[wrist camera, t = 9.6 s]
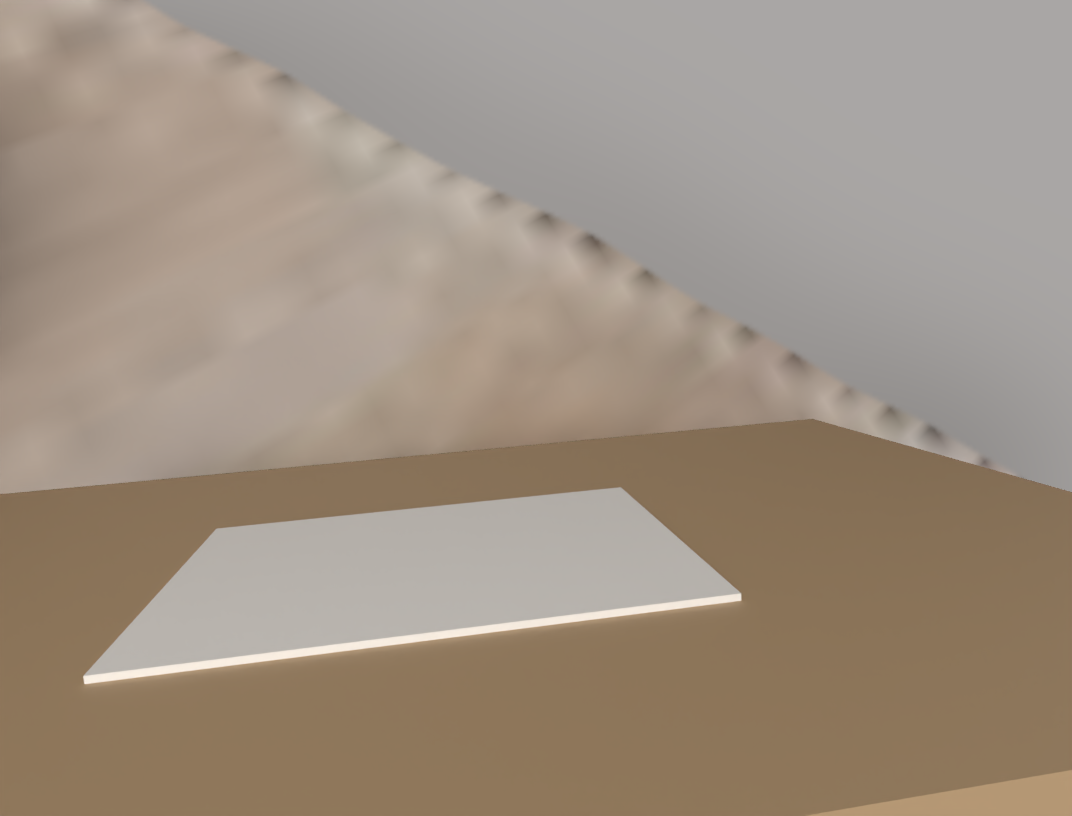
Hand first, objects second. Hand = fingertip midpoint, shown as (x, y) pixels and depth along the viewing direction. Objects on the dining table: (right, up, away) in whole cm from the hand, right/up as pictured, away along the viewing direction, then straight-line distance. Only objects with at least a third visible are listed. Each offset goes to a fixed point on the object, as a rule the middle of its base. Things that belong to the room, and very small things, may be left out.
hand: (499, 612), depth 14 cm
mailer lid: (-1, +1, 0) cm, 1 cm away
